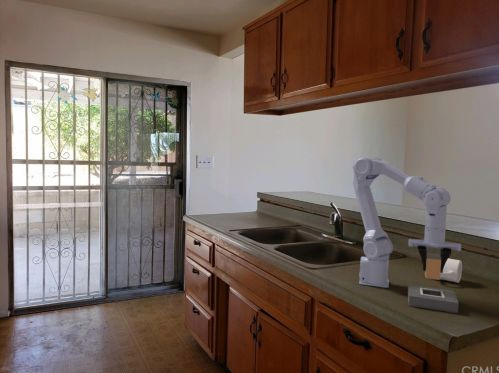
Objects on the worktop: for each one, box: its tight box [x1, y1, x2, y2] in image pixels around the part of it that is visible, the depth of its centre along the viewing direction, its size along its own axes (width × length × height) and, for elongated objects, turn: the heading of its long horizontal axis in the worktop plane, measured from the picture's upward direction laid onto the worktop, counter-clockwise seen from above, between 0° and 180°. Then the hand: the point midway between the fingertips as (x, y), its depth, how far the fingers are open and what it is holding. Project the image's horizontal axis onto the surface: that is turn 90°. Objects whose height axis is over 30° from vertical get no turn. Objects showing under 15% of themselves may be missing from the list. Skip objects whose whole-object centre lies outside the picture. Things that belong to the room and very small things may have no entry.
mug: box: [440, 258, 463, 284], centre depth 138 cm, size 12×10×8 cm
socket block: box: [407, 284, 459, 314], centre depth 116 cm, size 13×11×3 cm
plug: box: [424, 252, 441, 281], centre depth 119 cm, size 4×4×7 cm
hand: (432, 271), depth 119 cm, fingers closed on plug, 4 cm apart
